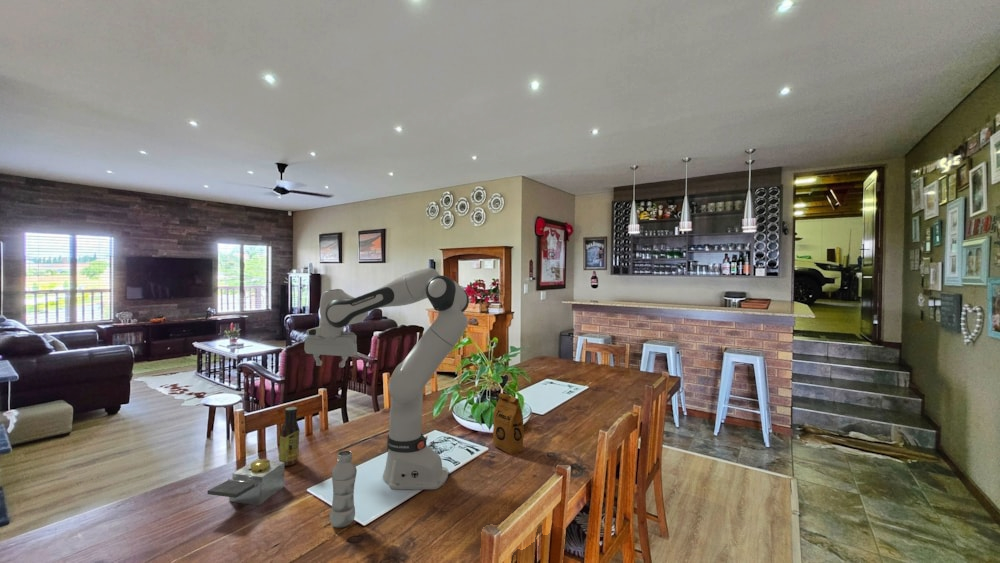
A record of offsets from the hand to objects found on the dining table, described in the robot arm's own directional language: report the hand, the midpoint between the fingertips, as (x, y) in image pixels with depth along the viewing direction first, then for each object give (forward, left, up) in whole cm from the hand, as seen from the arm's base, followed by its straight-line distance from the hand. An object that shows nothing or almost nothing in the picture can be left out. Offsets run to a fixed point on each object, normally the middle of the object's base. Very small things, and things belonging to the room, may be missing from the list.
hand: (330, 366), depth 158 cm
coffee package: (-69, -19, -34) cm, 79 cm away
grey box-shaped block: (+4, +31, -34) cm, 46 cm away
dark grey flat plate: (+4, +42, -27) cm, 50 cm away
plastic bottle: (-29, +41, -34) cm, 60 cm away
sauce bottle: (+8, +11, -34) cm, 37 cm away
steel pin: (+4, +31, -33) cm, 46 cm away
